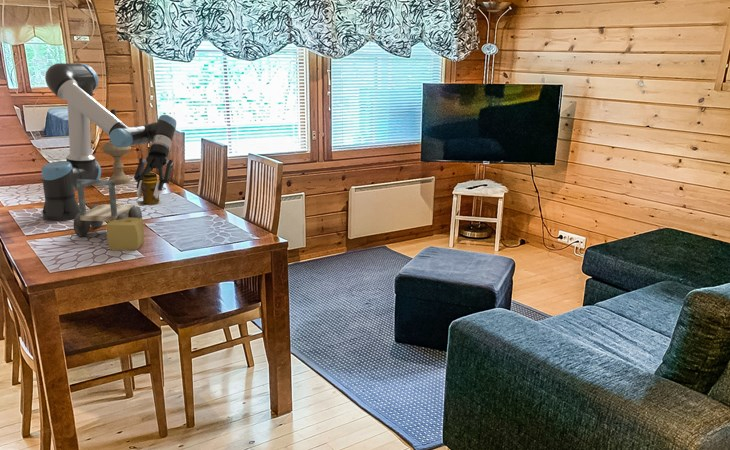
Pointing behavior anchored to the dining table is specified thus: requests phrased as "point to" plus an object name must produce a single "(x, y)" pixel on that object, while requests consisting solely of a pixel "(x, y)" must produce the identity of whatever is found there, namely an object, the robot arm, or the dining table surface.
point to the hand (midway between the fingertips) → (146, 196)
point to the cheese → (125, 234)
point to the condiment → (149, 190)
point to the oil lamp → (117, 160)
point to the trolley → (100, 209)
